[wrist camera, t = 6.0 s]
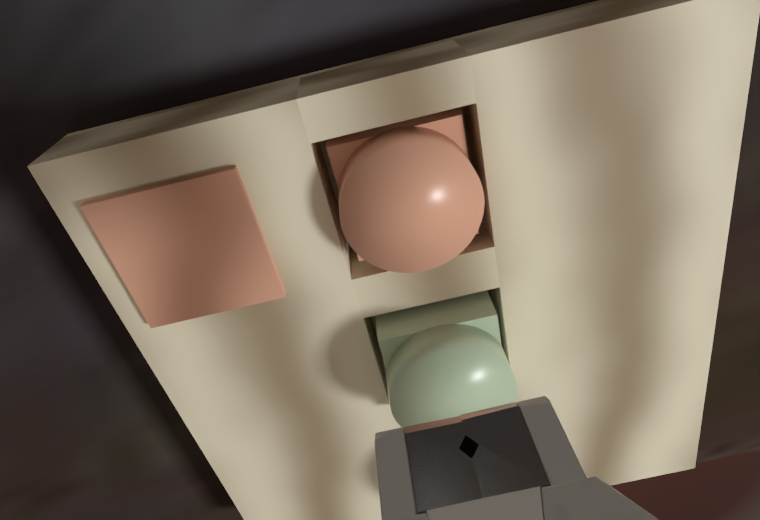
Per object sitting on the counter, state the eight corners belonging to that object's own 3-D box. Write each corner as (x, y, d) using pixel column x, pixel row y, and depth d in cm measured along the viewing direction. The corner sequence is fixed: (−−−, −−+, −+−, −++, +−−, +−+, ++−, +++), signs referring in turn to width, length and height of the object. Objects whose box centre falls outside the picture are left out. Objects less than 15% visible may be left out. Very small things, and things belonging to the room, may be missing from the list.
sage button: (395, 388, 24) (403, 452, 21) (371, 306, 21) (377, 366, 18) (498, 365, 24) (521, 427, 21) (486, 280, 21) (510, 336, 18)
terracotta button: (355, 237, 21) (358, 286, 18) (323, 125, 19) (321, 161, 16) (469, 210, 21) (492, 255, 18) (452, 93, 19) (474, 124, 16)
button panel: (271, 503, 30) (266, 562, 28) (67, 133, 19) (21, 170, 16) (663, 421, 29) (698, 473, 27) (701, -26, 18) (771, -17, 15)
